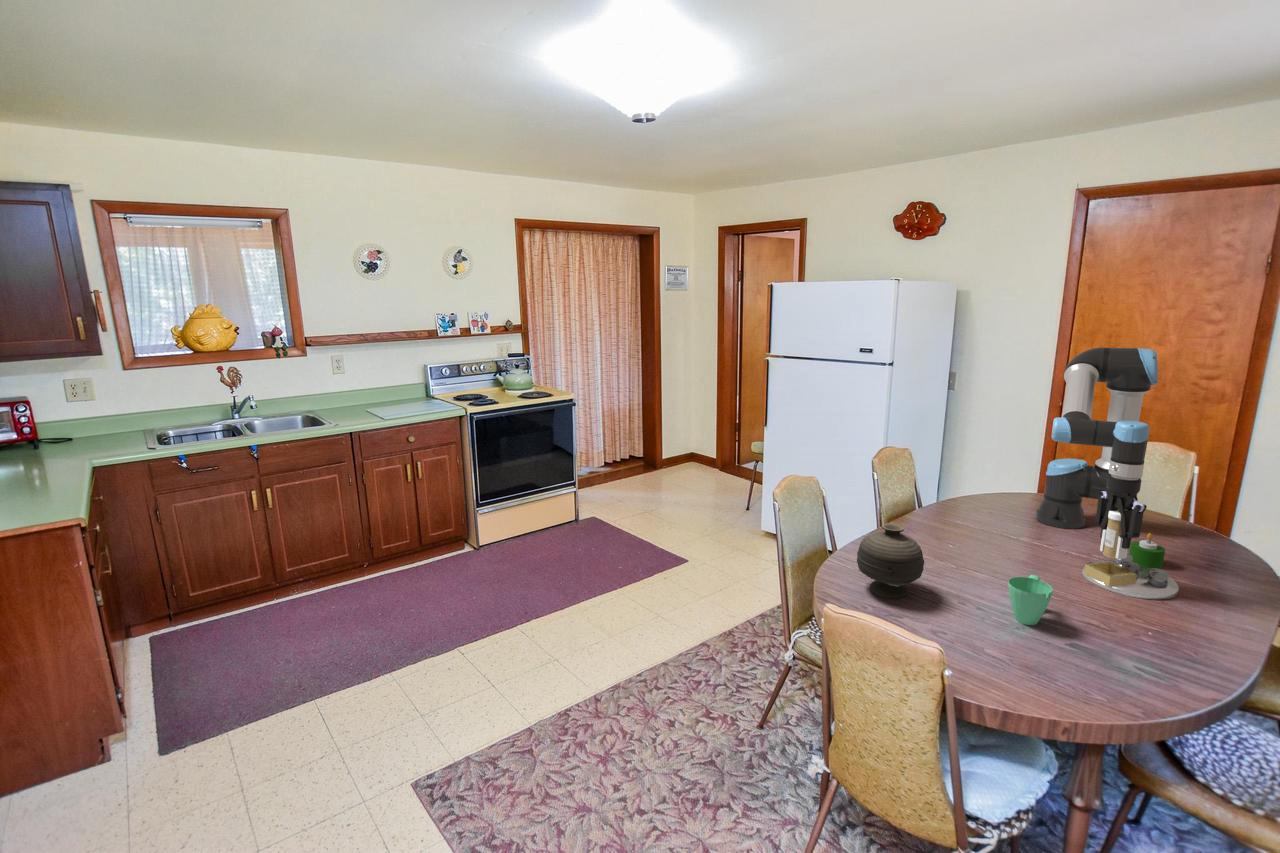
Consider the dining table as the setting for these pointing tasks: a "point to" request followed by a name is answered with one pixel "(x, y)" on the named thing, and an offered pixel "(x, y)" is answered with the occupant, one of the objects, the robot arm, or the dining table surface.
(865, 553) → the pot
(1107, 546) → the sprinkles bottle
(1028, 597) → the mug
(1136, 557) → the candle
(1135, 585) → the carrier
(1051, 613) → the dining table surface
